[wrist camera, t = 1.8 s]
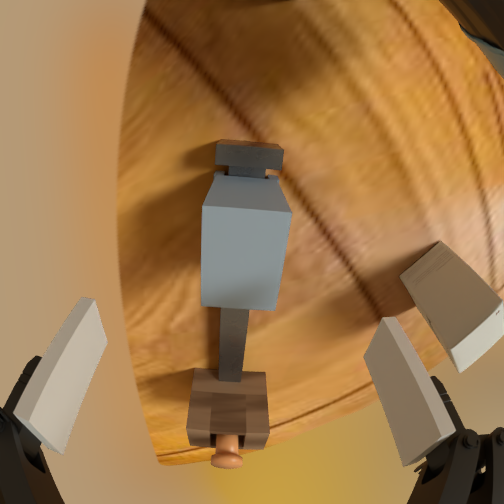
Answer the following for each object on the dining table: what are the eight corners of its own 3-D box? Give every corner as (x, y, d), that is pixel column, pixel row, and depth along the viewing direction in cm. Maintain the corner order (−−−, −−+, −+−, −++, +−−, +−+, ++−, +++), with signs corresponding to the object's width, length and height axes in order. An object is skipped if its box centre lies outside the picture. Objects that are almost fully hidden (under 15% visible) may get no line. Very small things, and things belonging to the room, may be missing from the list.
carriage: (216, 170, 24) (198, 205, 15) (276, 175, 24) (295, 213, 16) (212, 241, 27) (198, 305, 18) (267, 246, 27) (278, 310, 19)
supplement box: (396, 275, 30) (449, 350, 19) (441, 238, 28) (505, 299, 17) (415, 308, 33) (458, 376, 22) (454, 275, 31) (506, 334, 19)
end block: (194, 367, 37) (186, 428, 28) (265, 372, 37) (269, 433, 28) (196, 390, 39) (190, 445, 31) (260, 394, 40) (263, 449, 31)
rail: (220, 139, 23) (216, 143, 19) (277, 144, 23) (284, 149, 20) (212, 369, 37) (210, 392, 33) (247, 371, 37) (248, 394, 34)
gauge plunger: (213, 416, 31) (210, 459, 25) (243, 417, 31) (243, 461, 26) (213, 428, 33) (211, 467, 27) (241, 429, 33) (241, 469, 27)
